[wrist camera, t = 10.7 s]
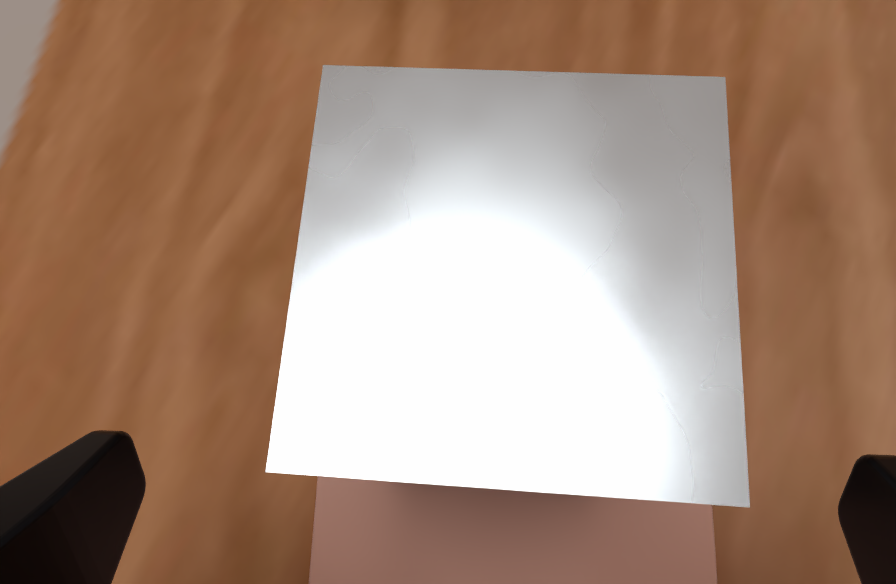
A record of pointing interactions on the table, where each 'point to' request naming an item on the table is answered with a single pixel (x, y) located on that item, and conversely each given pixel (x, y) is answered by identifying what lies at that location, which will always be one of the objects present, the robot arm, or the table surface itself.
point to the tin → (517, 287)
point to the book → (503, 537)
